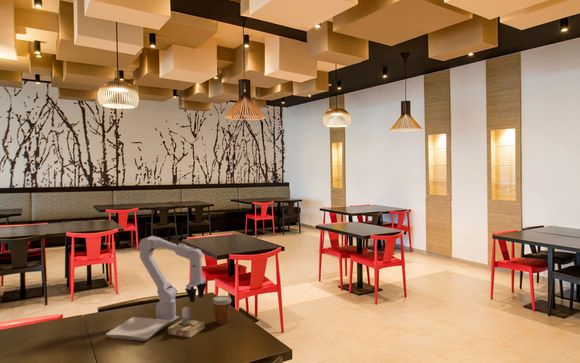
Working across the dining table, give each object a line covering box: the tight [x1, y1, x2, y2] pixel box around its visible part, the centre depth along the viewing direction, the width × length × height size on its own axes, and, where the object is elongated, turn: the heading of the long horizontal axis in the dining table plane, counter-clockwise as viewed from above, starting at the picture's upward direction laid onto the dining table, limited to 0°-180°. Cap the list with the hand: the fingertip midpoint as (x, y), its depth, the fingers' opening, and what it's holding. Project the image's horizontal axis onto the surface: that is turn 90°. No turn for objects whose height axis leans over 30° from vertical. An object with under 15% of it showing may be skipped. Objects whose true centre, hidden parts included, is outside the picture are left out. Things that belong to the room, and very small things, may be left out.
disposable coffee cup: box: [212, 295, 232, 325], centre depth 197 cm, size 10×10×12 cm
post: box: [181, 306, 192, 324], centre depth 186 cm, size 3×3×7 cm
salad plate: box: [105, 316, 171, 342], centre depth 184 cm, size 21×21×3 cm
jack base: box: [167, 319, 205, 339], centre depth 186 cm, size 12×12×4 cm
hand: (196, 299), depth 200 cm, fingers open, 7 cm apart
